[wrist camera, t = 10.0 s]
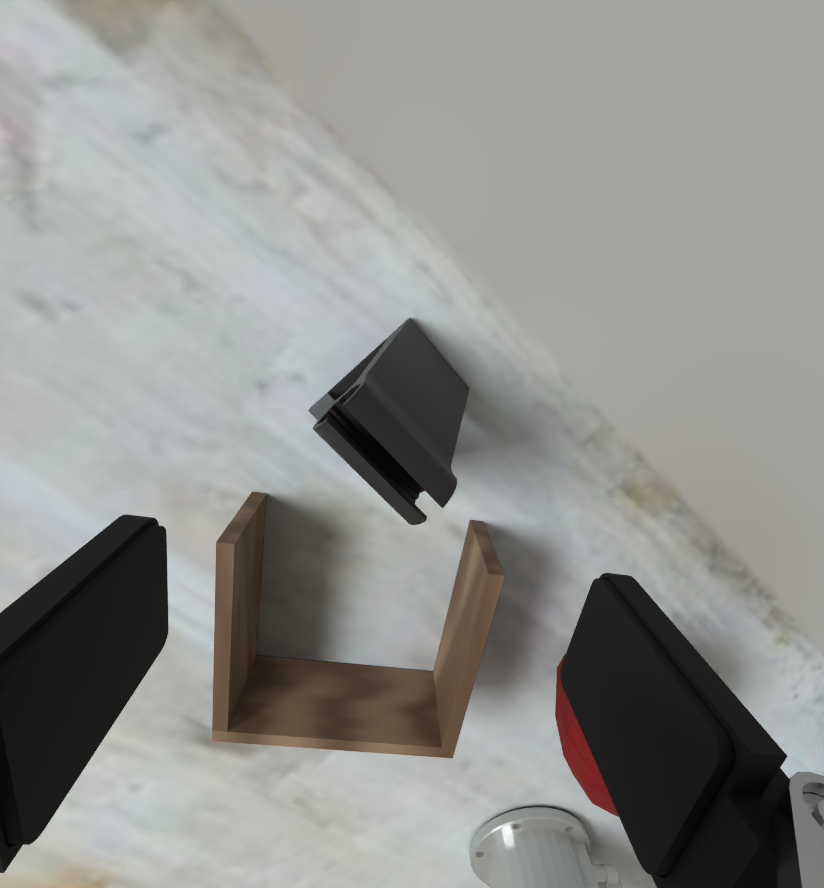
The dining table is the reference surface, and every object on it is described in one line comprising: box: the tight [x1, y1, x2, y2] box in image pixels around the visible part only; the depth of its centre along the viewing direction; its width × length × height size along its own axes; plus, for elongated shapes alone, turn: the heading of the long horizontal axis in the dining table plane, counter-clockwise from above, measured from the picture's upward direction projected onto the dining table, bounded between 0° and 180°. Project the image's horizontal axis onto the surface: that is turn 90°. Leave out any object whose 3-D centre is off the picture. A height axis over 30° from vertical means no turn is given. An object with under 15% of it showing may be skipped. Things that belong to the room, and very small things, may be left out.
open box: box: [212, 492, 505, 758], centre depth 30 cm, size 17×16×6 cm
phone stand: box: [308, 318, 469, 525], centre depth 23 cm, size 9×6×12 cm, turn 131°
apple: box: [555, 654, 619, 817], centre depth 31 cm, size 11×11×12 cm
